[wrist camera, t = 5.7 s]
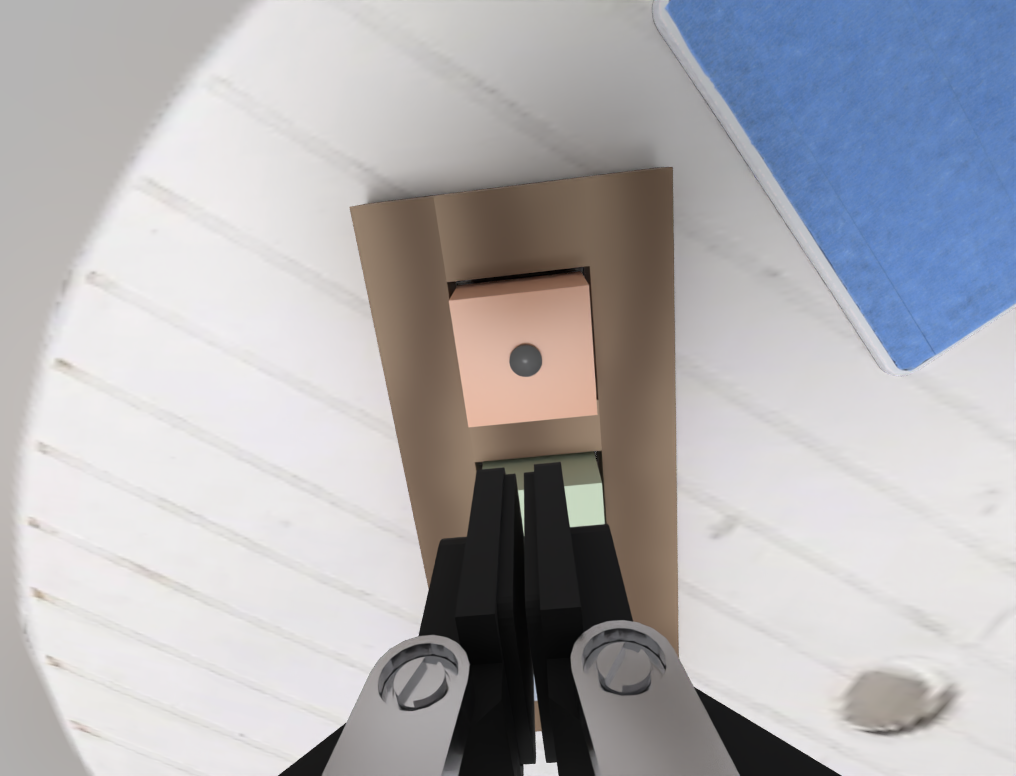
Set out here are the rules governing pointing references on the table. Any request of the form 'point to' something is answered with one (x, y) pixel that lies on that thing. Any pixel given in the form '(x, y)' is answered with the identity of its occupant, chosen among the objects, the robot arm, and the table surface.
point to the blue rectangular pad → (875, 149)
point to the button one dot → (525, 349)
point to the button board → (616, 346)
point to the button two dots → (565, 483)
